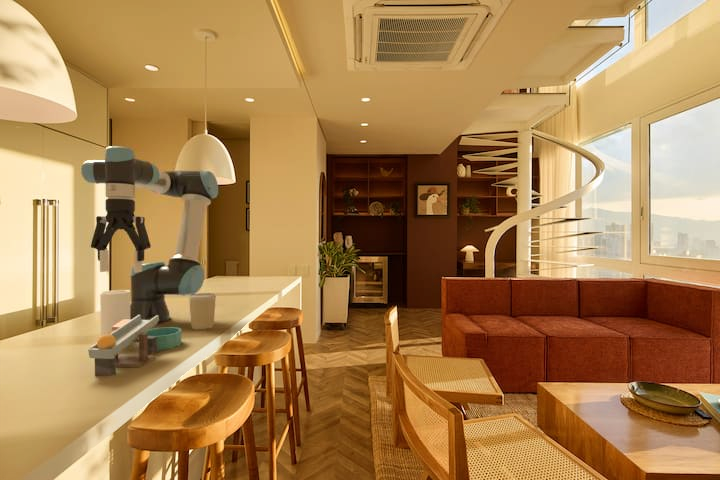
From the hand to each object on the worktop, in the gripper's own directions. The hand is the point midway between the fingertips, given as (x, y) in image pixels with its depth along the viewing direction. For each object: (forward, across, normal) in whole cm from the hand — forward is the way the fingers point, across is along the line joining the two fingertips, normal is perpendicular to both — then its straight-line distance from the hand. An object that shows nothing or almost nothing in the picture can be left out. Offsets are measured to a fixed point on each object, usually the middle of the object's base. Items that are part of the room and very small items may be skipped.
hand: (121, 271), depth 114 cm
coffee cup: (+24, +12, +27) cm, 38 cm away
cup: (+24, -8, +8) cm, 26 cm away
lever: (+18, +8, -11) cm, 23 cm away
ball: (+16, +10, -19) cm, 27 cm away
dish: (+24, +10, +4) cm, 26 cm away
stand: (+24, +10, -11) cm, 28 cm away
